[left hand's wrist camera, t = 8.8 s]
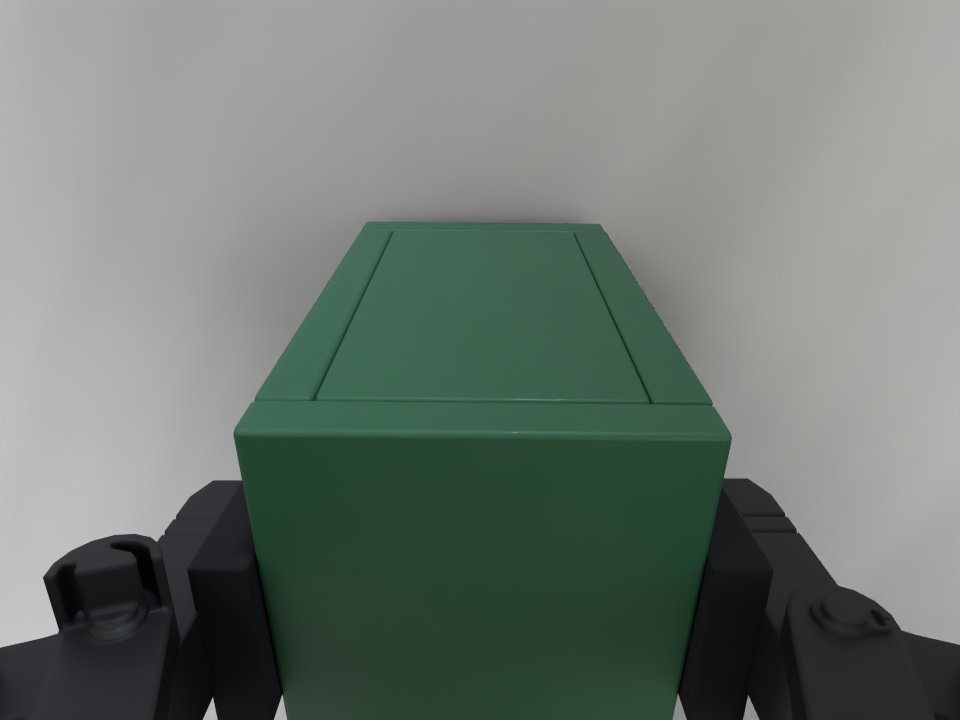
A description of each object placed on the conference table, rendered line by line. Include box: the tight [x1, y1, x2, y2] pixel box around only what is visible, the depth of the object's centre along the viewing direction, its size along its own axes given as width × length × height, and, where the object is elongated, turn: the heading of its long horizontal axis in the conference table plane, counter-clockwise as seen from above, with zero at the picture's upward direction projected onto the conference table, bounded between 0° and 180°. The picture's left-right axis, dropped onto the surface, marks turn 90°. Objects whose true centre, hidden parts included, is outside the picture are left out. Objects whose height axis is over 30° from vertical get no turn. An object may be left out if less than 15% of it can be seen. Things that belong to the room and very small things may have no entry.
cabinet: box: [234, 222, 732, 720], centre depth 16 cm, size 19×6×10 cm, turn 0°
